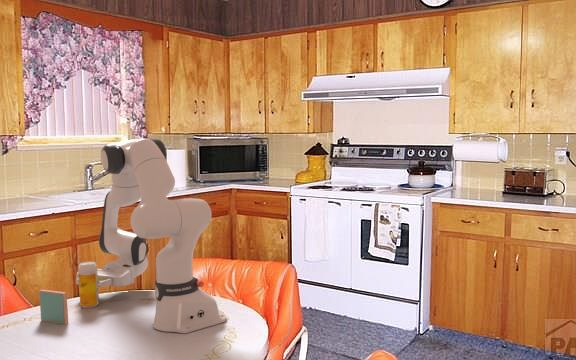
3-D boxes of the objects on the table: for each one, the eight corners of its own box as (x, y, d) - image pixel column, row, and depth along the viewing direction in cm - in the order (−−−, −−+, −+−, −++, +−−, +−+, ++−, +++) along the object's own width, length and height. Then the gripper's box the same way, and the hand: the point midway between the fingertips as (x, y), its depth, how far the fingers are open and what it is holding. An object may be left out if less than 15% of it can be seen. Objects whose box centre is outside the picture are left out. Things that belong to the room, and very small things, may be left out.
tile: (44, 319, 175) (42, 289, 174) (68, 323, 172) (66, 292, 171) (40, 320, 174) (38, 290, 173) (65, 324, 171) (63, 293, 170)
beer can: (80, 304, 190) (78, 262, 188) (99, 302, 192) (97, 260, 190) (79, 309, 184) (77, 266, 183) (98, 307, 186) (96, 264, 184)
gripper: (91, 262, 203) (64, 272, 190) (137, 266, 196) (111, 277, 183) (92, 279, 204) (65, 289, 191) (137, 283, 197) (112, 295, 184)
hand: (88, 283), depth 187 cm, fingers open, 8 cm apart
